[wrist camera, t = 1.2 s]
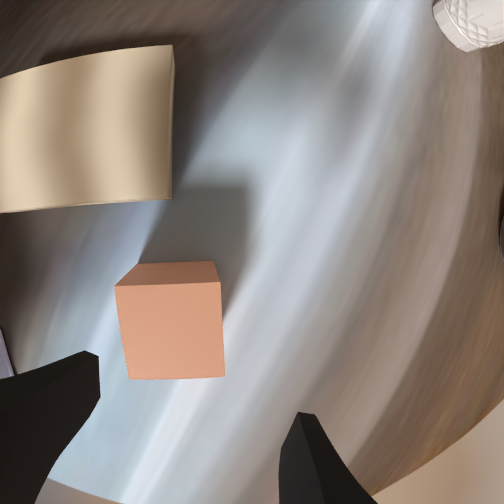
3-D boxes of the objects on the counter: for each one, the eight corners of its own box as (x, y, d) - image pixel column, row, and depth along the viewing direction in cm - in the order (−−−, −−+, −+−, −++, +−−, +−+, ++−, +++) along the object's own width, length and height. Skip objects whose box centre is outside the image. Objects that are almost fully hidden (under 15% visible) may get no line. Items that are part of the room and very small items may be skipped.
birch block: (17, 212, 17) (-13, 214, 13) (25, 95, 16) (0, 78, 12) (172, 199, 19) (166, 197, 15) (175, 72, 18) (172, 44, 14)
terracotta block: (145, 335, 20) (129, 379, 14) (137, 263, 19) (114, 285, 13) (216, 332, 21) (225, 376, 15) (213, 260, 20) (220, 282, 14)
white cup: (465, 13, 21) (518, -13, 11) (483, 66, 22) (545, 45, 12) (419, -11, 20) (473, -50, 10) (438, 44, 21) (506, 10, 11)
